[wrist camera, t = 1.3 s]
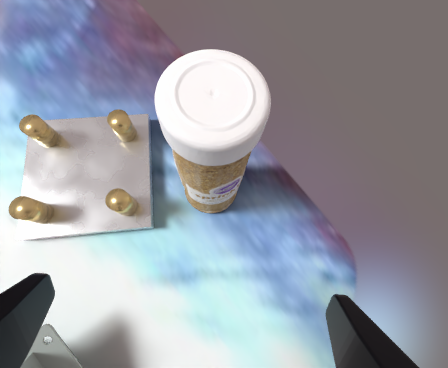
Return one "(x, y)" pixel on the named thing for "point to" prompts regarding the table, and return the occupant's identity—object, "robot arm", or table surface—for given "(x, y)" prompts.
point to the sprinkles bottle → (212, 122)
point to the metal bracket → (50, 352)
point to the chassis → (85, 176)
